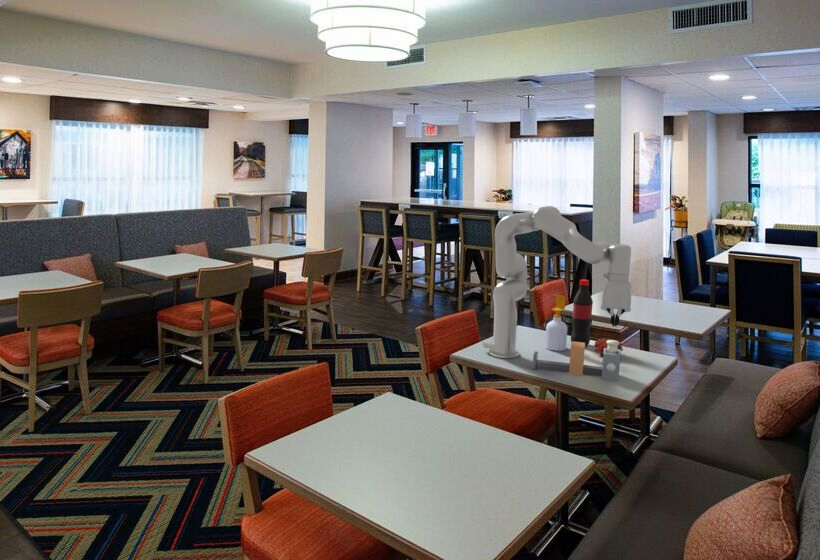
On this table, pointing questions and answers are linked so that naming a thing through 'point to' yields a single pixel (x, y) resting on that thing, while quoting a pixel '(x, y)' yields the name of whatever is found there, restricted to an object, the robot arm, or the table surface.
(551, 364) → the rail
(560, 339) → the soap bottle
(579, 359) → the wooden block
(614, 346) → the plunger
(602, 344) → the dragon fruit
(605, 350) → the grey boxy piece
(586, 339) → the cola bottle
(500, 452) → the table surface
